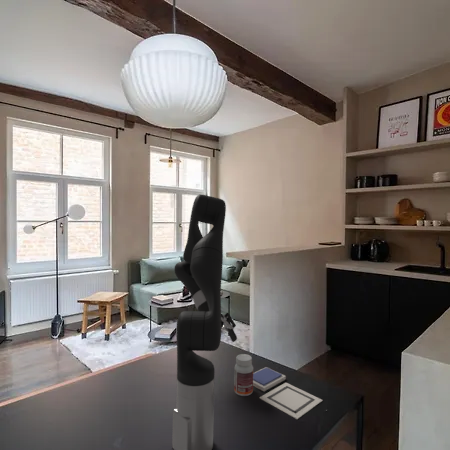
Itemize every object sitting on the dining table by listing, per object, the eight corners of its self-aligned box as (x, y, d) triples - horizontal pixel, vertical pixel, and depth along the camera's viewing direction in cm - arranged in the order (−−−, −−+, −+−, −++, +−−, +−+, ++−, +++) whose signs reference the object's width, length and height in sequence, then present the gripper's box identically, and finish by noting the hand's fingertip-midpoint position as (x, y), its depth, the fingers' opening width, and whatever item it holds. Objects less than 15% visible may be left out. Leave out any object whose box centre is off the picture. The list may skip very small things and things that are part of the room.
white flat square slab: (297, 419, 88) (297, 418, 88) (259, 398, 98) (259, 397, 98) (322, 400, 98) (322, 399, 98) (285, 383, 108) (285, 382, 108)
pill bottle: (256, 393, 101) (257, 358, 101) (241, 398, 98) (242, 363, 98) (245, 384, 106) (245, 351, 106) (230, 389, 103) (231, 355, 103)
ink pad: (263, 391, 102) (264, 386, 102) (244, 380, 109) (244, 376, 109) (285, 379, 110) (285, 374, 110) (266, 370, 117) (266, 365, 117)
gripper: (195, 301, 109) (216, 343, 101) (224, 295, 119) (246, 333, 111) (186, 313, 113) (205, 354, 105) (215, 306, 123) (235, 343, 115)
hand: (226, 343), depth 108 cm, fingers open, 8 cm apart
